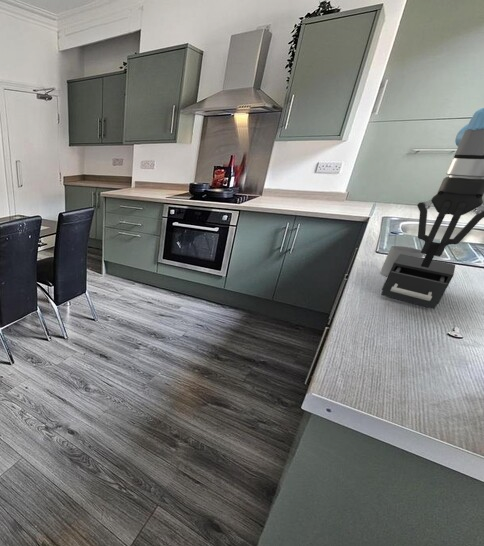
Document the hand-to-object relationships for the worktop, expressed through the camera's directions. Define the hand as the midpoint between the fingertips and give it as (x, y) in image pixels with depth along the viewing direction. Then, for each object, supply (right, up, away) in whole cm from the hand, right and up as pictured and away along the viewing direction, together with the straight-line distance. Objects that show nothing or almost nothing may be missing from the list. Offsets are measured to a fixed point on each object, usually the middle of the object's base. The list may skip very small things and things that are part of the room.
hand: (425, 265), depth 86 cm
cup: (+21, -3, +28) cm, 34 cm away
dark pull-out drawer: (+4, -10, +9) cm, 14 cm away
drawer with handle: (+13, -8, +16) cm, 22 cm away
